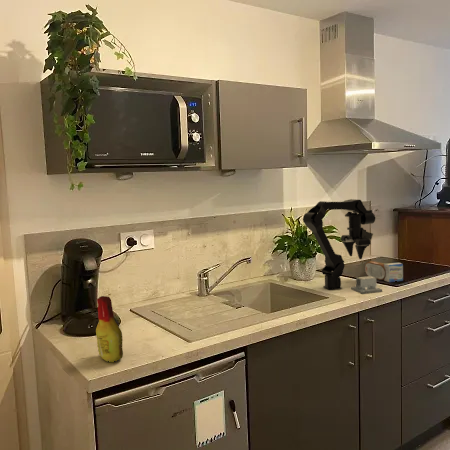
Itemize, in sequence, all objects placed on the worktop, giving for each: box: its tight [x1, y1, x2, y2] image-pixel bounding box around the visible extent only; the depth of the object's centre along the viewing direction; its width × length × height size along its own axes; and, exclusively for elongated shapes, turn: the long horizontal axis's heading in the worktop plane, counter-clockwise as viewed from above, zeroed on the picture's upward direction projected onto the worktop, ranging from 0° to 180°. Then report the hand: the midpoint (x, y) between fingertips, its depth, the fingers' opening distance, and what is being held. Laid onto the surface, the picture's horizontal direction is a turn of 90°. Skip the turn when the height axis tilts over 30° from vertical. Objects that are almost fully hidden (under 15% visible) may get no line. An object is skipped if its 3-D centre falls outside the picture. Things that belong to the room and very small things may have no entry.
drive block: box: [355, 275, 378, 290], centre depth 214 cm, size 8×4×5 cm, turn 103°
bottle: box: [95, 295, 124, 363], centre depth 145 cm, size 12×6×20 cm, turn 38°
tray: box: [350, 285, 383, 295], centre depth 214 cm, size 10×10×2 cm
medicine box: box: [383, 262, 404, 283], centre depth 229 cm, size 8×4×9 cm, turn 103°
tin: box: [364, 260, 386, 281], centre depth 236 cm, size 15×3×8 cm, turn 26°
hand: (355, 257), depth 226 cm, fingers open, 9 cm apart
